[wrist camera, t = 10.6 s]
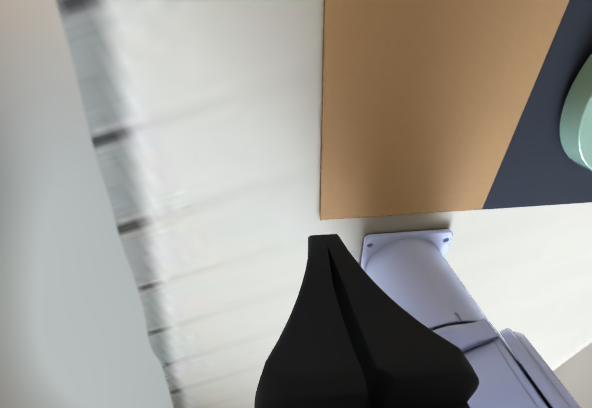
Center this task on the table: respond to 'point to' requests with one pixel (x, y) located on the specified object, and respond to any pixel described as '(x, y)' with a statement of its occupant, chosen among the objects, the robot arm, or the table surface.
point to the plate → (578, 118)
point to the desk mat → (449, 105)
